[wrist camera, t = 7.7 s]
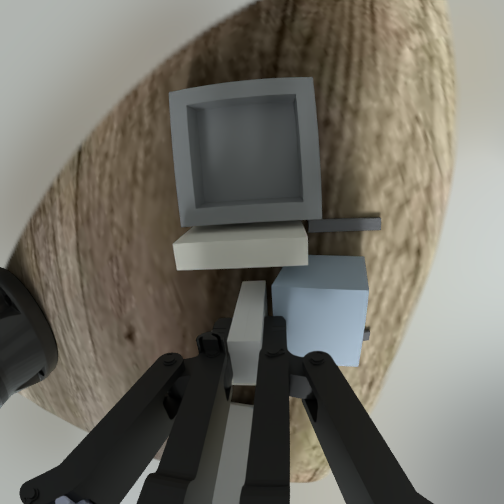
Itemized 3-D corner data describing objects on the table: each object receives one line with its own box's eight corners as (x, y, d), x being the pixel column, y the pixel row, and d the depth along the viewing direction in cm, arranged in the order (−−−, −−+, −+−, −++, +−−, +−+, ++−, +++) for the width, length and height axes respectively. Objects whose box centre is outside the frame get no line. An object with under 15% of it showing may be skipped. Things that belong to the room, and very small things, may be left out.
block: (291, 317, 21) (275, 359, 16) (290, 254, 19) (271, 286, 14) (358, 321, 19) (358, 366, 14) (364, 256, 17) (368, 290, 13)
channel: (214, 345, 22) (202, 383, 18) (195, 224, 19) (172, 244, 15) (301, 344, 21) (305, 383, 17) (300, 218, 18) (307, 236, 14)
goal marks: (307, 343, 21) (307, 345, 21) (308, 219, 18) (308, 220, 18) (367, 338, 21) (368, 340, 20) (379, 217, 18) (381, 218, 17)
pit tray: (194, 217, 19) (181, 227, 16) (183, 101, 16) (169, 92, 13) (315, 210, 18) (322, 219, 15) (307, 89, 15) (312, 77, 13)
